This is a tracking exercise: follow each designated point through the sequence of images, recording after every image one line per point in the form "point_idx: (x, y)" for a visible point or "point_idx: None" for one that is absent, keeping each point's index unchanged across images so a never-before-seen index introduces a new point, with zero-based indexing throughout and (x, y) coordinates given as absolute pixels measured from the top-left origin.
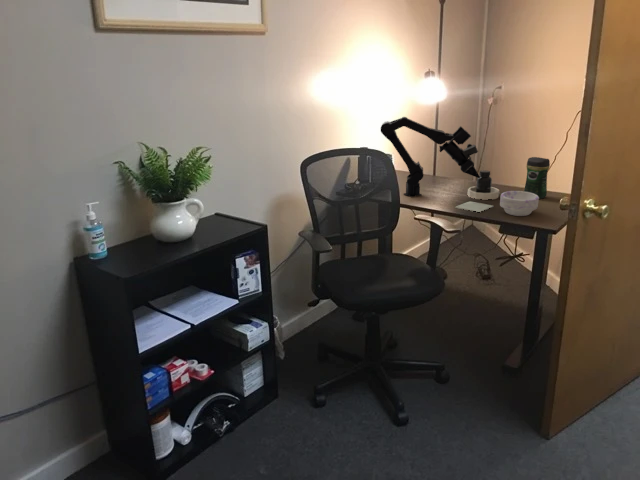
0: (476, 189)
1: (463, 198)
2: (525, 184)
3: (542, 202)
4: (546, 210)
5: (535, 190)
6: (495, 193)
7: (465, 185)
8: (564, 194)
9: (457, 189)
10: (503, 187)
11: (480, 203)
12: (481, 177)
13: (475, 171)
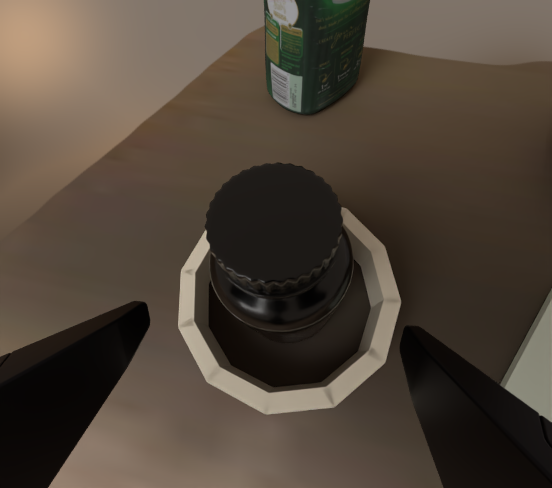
0: (293, 340)
1: (359, 461)
2: (306, 59)
3: (399, 79)
4: (529, 86)
5: (358, 52)
6: (360, 227)
7: None
8: None
9: (86, 449)
10: (129, 163)
11: (524, 360)
12: (320, 286)
13: (530, 422)
